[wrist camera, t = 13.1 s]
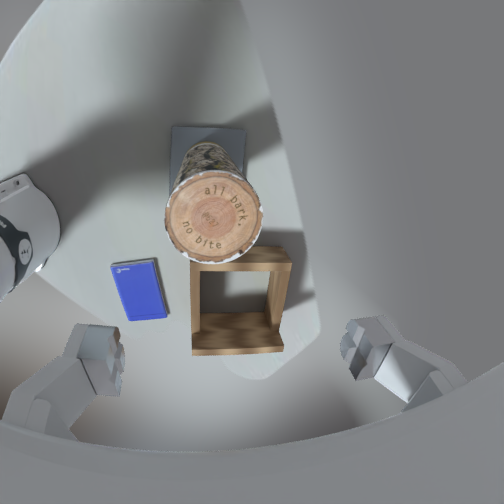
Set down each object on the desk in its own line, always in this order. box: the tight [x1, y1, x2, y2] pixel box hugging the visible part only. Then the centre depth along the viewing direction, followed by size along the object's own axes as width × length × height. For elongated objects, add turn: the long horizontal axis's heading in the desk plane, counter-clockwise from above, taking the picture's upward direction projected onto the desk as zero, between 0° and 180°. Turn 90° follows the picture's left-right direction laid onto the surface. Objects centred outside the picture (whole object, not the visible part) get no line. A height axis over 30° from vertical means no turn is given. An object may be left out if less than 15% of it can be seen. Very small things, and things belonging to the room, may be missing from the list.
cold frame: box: [190, 246, 292, 356], centre depth 49 cm, size 16×16×10 cm
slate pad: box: [169, 127, 246, 196], centre depth 42 cm, size 11×11×1 cm
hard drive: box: [110, 259, 168, 321], centre depth 50 cm, size 2×8×12 cm
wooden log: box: [165, 141, 263, 264], centre depth 30 cm, size 7×7×25 cm
